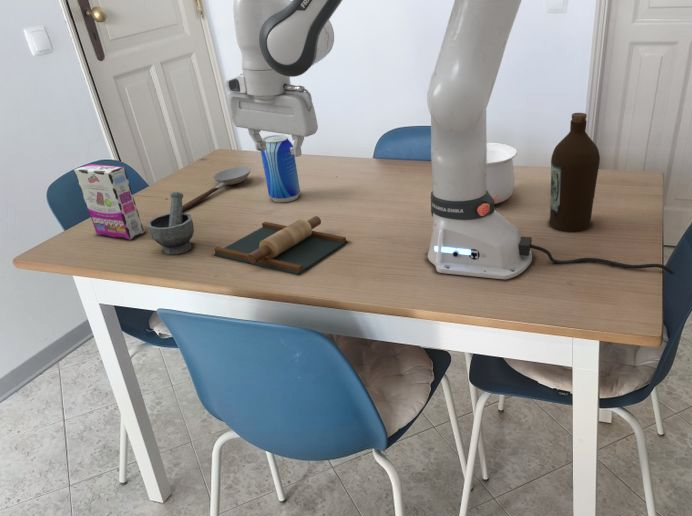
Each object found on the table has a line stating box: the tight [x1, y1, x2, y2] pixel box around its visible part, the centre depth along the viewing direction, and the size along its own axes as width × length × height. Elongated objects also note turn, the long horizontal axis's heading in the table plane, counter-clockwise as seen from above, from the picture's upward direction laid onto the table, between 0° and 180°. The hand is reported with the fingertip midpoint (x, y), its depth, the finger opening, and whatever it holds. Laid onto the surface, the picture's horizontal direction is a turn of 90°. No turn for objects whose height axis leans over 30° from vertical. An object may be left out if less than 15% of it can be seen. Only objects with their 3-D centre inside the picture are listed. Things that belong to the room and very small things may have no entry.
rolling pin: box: [248, 215, 322, 265], centre depth 141 cm, size 4×23×4 cm, turn 152°
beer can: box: [260, 134, 301, 203], centre depth 167 cm, size 8×8×16 cm
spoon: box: [182, 166, 252, 212], centre depth 174 cm, size 11×33×3 cm, turn 158°
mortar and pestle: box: [147, 191, 195, 255], centre depth 143 cm, size 11×9×12 cm
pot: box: [486, 141, 518, 205], centre depth 161 cm, size 22×17×12 cm
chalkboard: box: [213, 221, 348, 276], centre depth 143 cm, size 24×18×2 cm
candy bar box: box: [73, 163, 145, 241], centre depth 150 cm, size 11×5×16 cm, turn 68°
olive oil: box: [549, 112, 601, 232], centre depth 142 cm, size 11×11×25 cm
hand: (278, 153), depth 131 cm, fingers open, 8 cm apart
